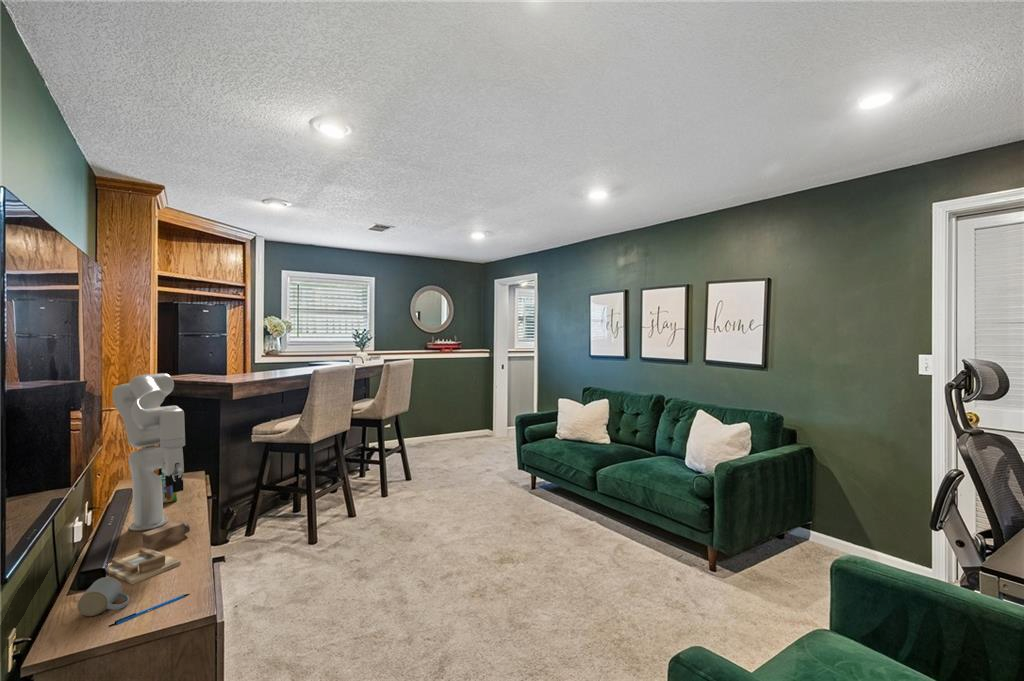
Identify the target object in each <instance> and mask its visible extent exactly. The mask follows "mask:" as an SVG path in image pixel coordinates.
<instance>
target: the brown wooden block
mask: <svg viewBox="0 0 1024 681" xmlns="http://www.w3.org/2000/svg"><path fill="white" fill-rule="evenodd" d="M190 528H191V527H190V525H189V523H188V522H182V521H180V520H178V521H177V520H176V521H173V522H171V523H168V524H164V525H161V526H159V527H156V528H152V529H149V530H148V531H147V530H146V531H144V532H142V533H141V539H142V541H141V542H142V548H147V549H153V550H155V551H156V550H157V549H159V548H163V547H165V545H166V546H168V545H171V544H173V542H174V543H176V542H178V541H182V540H185V539H186V534H188V533H189V532H190ZM181 539H182V540H181ZM162 546H163V547H162Z"/></svg>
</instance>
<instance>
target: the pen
mask: <svg viewBox="0 0 1024 681" xmlns="http://www.w3.org/2000/svg"><path fill="white" fill-rule="evenodd" d="M189 595H190V593H186V594H185V593H184V594H182V595H179V596H177V597H174V598H172V599H170V600H167V601H165V602H162V603H159V604H156V605H154V606H151V607H149V608H146V609H144V610H142V611H139V612H135V613H132V614H129V615H127V616H123V617H122V618H120V619H119V618H118V619H117V620H115V621H114V622H113V623H111V624H109V625H108V627H109V628H110V627H112V626H114V625H115V626H116V625H119V624H121V623H124V622H126V621H128V620H131V619H133V618H136V617H139V616H141V615H143V614H142V613H144V614H145V612H146V613H148V612H147V611H148V610H151V609H154V608H156V609H158V608H157V607H159V608H161V607H163V606H166V605H169V604H171V603H173V602H175V601H176V602H177V601H178V600H180V599H183V598H186V597H189ZM160 606H161V607H160ZM154 610H155V609H154ZM151 611H152V610H151ZM140 614H141V615H140ZM138 615H139V616H138Z"/></svg>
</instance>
